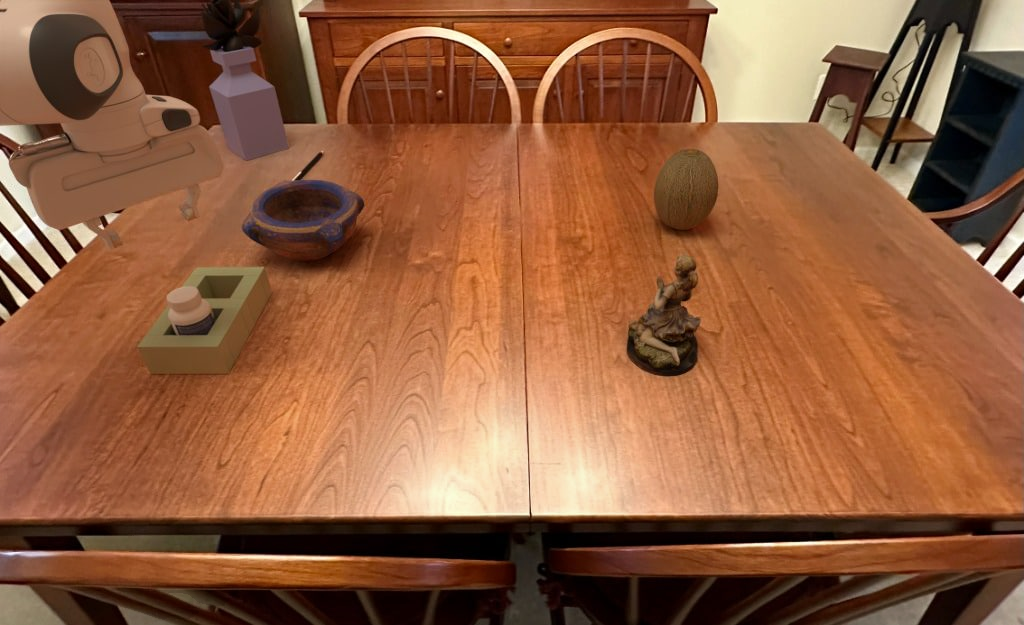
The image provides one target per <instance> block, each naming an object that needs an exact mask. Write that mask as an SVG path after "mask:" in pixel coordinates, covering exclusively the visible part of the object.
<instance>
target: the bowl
mask: <svg viewBox="0 0 1024 625" xmlns="http://www.w3.org/2000/svg"><path fill="white" fill-rule="evenodd" d="M365 206H366V204H365V201H364V199H363V197H361V195H360V194H358V193H357V192H355V191H352V190H351V189H349V188H346V187H345V186H343V185H341V184H339V183H335V182H333V181H328V180H323V179H299V180H293V181H291V180H283V181H281V182H277V183H276V184H275V185H273V186H271V187H270V188H267V189H266V190H264V191H262V192H260V193H259V195H257V196H256V197H255V198H253V200H252V201H251V203H250V205H249V209H248V214H247V216H246V218H245V219H244V220H243V222H242V224H241V230H242V232H243V233H244V234H245V235H246V237H248V238H249V239H250V240H251V241H253V242H255V243H257V244H258V245H260V246H262V247H264V248H266V249H268V250H270V251H272V252H274V253H276V254H278V255H280V256H281V257H285V258H288V259H291V260H295V261H301V262H303V261H304V262H305V261H306V262H309V261H310V262H311V261H316V260H320V259H322V258H325V257H327V256H328V255H330V254H332V253H334V252H336V251H337V250H338V249H339V248H341V247H342V246H343V245H345V243H347V241H348V240H349V239H350V238H351V237H352V235H353V234H354V232H355V229H356V227H357V220H358V217H359V215H360V214H361V213H362V211H363V210H364V208H365Z"/></svg>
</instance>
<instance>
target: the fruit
mask: <svg viewBox="0 0 1024 625" xmlns="http://www.w3.org/2000/svg"><path fill="white" fill-rule="evenodd" d="M718 195H719V176H718V173H717V170H716V166H715V164H714V162H713V161H712V159H711V158H710V156H709V155H708V154H707V153H705V152H704V151H702V150H700V149H695V148H685V149H681V150H678V151H677V152H675V153H673V154H672V155H671V156H670V157H668V159H667V160H666V161H665V162H664V164H663V165H662V167H661V169H660V171H659V172H658V175H657V178H656V181H655V184H654V190H653V202H654V207H655V210H656V213H657V215H658V217H659V219H660V220H661V221H662V222H663V224H664V225H666V226H667V227H669V228H671V229H673V230H674V229H675V230H680V231H681V230H683V231H684V230H689V229H690V230H691V229H693V228H695V227H697V226H699V225H700V224H702V223H703V222H704V221H705V220H706V219H708V217H709V216H710V214H711V213H712V211H713V209H714V208H715V206H716V203H717V200H718Z"/></svg>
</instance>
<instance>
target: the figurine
mask: <svg viewBox="0 0 1024 625" xmlns="http://www.w3.org/2000/svg"><path fill="white" fill-rule="evenodd" d="M697 267H698V266H697V262H696V260H695V258H693V257H692V256H690V255H688V254H686V253H680V254H679V255H678V256H677V259H676V262H675V266H674V267H673V272H674V273H673V274H674V275H675V277H676V280H675V281H673V282H670V283H668V284H665V282H664V280H663V278H662V276H661V275H660V276H659V275H658V276H657V278H656V286H657V290H656V293H655V295H654V301H653V303H651V304H650V305H648V308H647V311H646V312H645V313H644V314H642V315H640V316H638V320H634V319H633V320H630V321H629V323H628V331H627V335H628V337H627V342H626V355H627V357H628V358H629V360H630V361H631V362H632V363H634V365H636V366H637V367H638V368H639V369H641V370H643V371H645V372H646V373H649V374H652V375H654V376H655V375H656V376H662V377H675V376H680V375H683V374H686V373H688V372H689V371H691V370H692V369H693V368H694V367H695V366H696V364H697V362H698V352H699V351H698V350H699V348H698V347H699V345H698V339H697V337H696V334H695V333H696V332H697V330H698V328H699V327H700V325H701V322H702V318H701V317H700V316H697V317H694V315H693V314H690V313H689V311H688V307H686V306H684V305H682V302H683V303H685V302H688V301H690V300H691V298H692V295H693V289H695V288H696V286H697V285H698V284H699V275H698V272H697V271H696V270H697Z"/></svg>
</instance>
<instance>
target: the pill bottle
mask: <svg viewBox="0 0 1024 625" xmlns="http://www.w3.org/2000/svg"><path fill="white" fill-rule="evenodd" d="M166 302H167V305H169V307H170V310H169V312H168V318H169V321H170V322H171V325H172V327H173V329H174V331H175V334H176V335H208V333H209V331H210V330H211V328H212V327H213V325H214V323H215V322H216V319H215V316H214V313H213V311H212V308H211V306H210V304H209V303H208V302H207V301H206V300H204V299H202V298H201V295H200V293H199V291H198V289H197V288H196V287H192V286H184V287H182V286H181V287H177V288H175V289H173V290H171V291H170V292H169V293H168V294H167V295H166Z"/></svg>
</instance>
